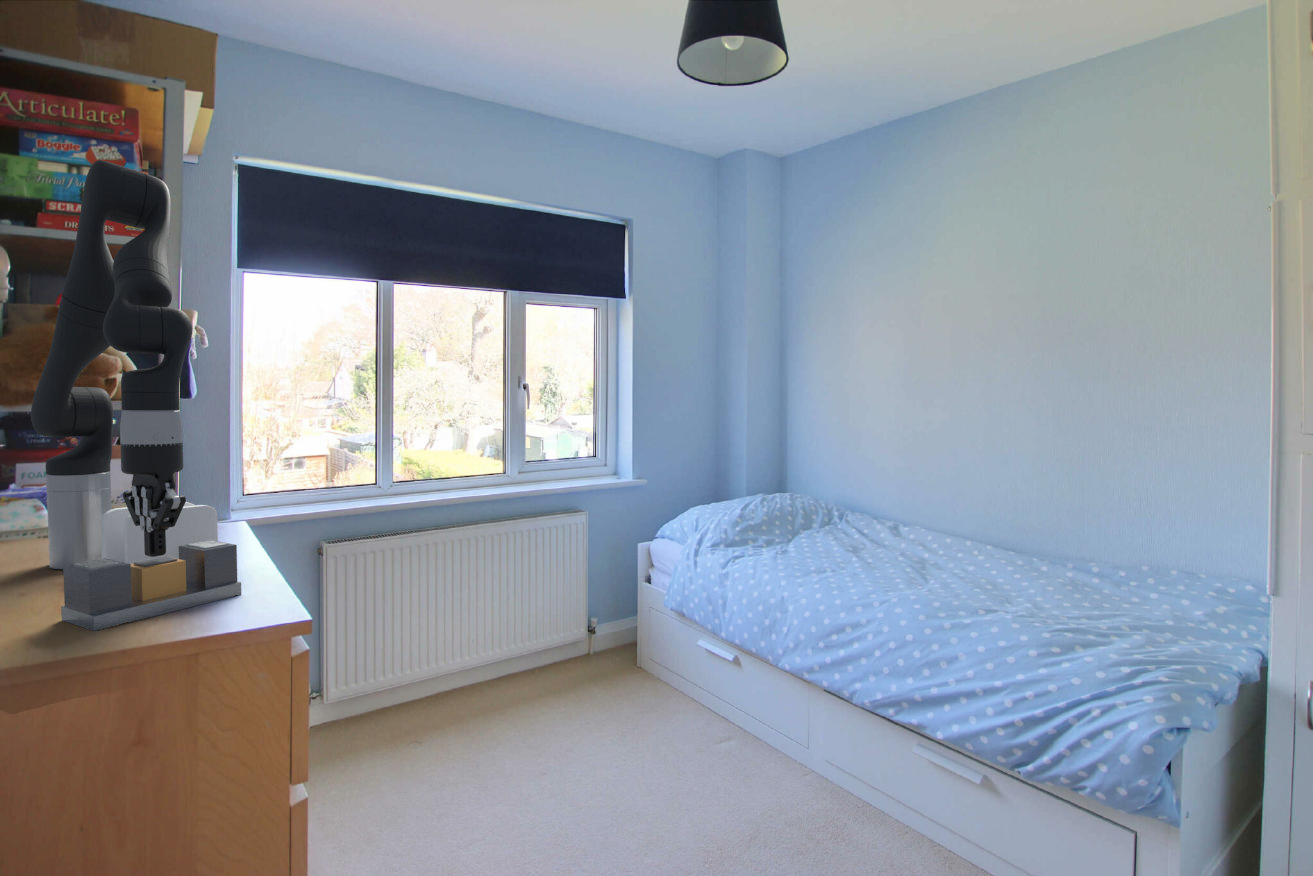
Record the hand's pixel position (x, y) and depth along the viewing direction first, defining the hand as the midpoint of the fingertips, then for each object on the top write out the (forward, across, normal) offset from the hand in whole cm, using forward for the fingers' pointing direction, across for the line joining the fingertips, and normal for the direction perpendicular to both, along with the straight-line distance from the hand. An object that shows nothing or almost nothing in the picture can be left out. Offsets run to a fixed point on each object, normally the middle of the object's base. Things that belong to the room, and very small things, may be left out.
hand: (155, 555), depth 103 cm
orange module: (+6, 0, 0) cm, 6 cm away
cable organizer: (+8, +24, -13) cm, 29 cm away
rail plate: (+8, 0, 0) cm, 8 cm away
